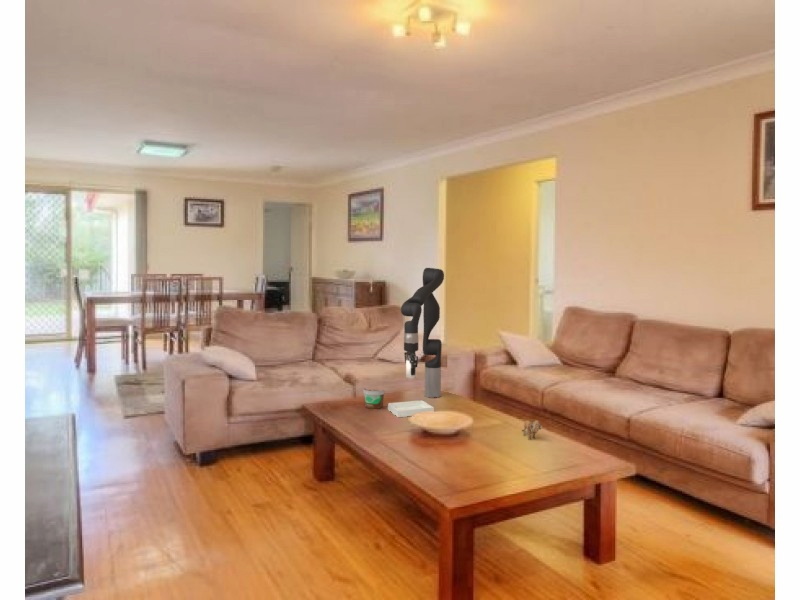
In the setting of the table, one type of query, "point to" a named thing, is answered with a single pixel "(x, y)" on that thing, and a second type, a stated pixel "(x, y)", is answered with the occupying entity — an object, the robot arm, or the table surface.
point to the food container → (374, 399)
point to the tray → (409, 408)
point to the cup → (409, 370)
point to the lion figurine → (531, 428)
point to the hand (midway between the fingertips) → (411, 373)
